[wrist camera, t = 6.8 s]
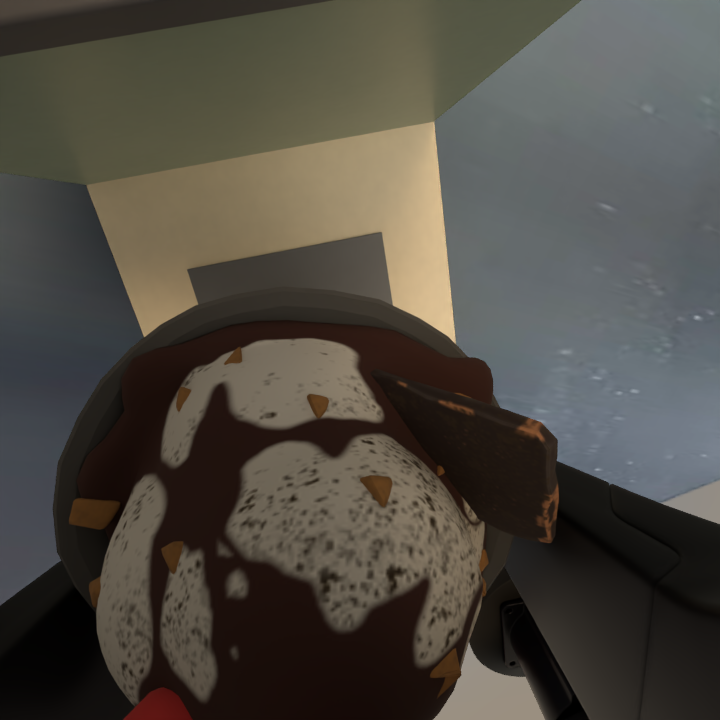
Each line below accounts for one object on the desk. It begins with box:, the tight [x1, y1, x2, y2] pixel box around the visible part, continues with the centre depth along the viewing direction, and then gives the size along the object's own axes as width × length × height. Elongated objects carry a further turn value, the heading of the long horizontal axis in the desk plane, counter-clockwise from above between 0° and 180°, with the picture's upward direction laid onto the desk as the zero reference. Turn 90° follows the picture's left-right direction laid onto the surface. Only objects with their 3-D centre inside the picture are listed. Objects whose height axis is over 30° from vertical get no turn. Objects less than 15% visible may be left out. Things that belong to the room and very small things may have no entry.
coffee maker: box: [0, 0, 581, 344], centre depth 12 cm, size 18×14×14 cm
